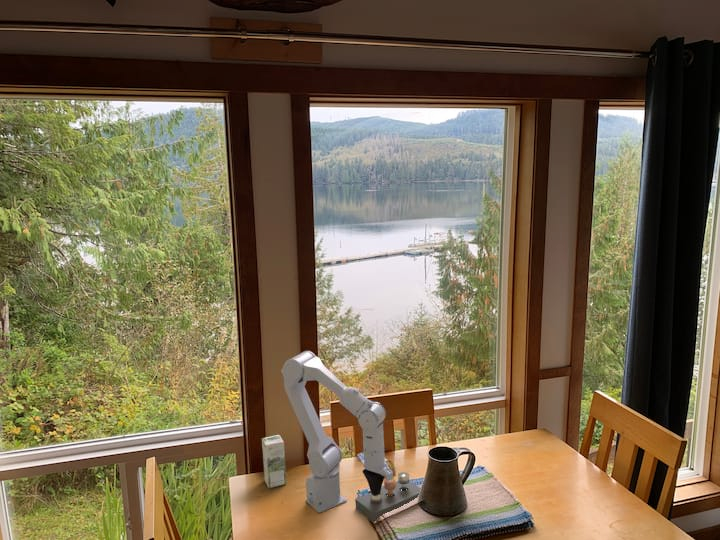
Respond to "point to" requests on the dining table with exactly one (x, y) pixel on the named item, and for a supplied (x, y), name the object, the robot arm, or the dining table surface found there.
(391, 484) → the middle knob
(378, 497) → the near knob
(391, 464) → the pastry
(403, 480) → the far knob
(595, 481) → the dining table surface
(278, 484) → the syrup box
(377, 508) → the knob panel
